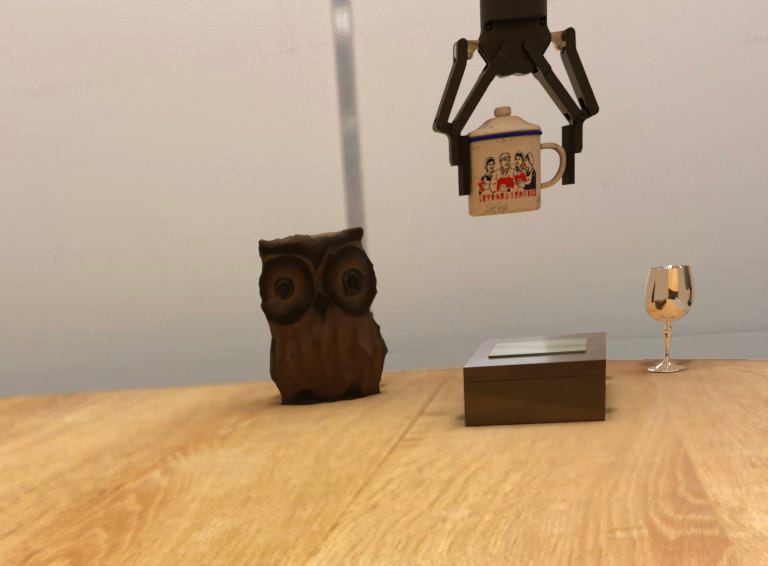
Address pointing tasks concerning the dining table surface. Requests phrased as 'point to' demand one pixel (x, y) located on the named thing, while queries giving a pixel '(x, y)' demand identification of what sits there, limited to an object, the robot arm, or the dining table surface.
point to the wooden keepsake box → (536, 380)
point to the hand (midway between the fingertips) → (516, 190)
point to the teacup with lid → (507, 165)
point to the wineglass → (668, 302)
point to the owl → (321, 317)
